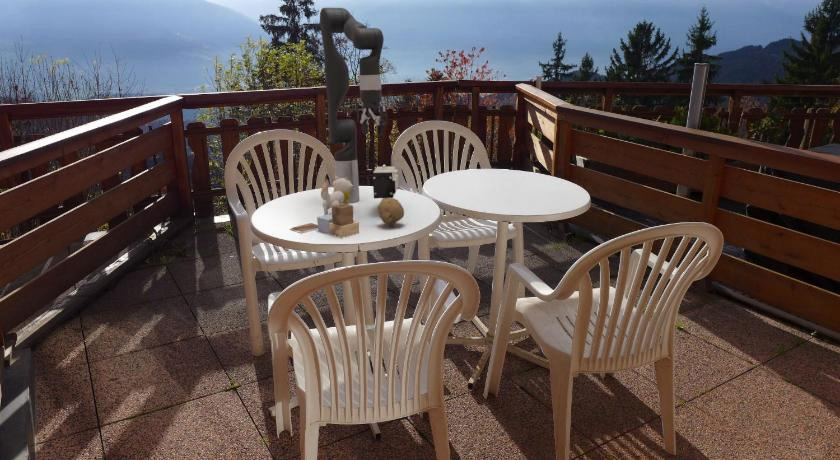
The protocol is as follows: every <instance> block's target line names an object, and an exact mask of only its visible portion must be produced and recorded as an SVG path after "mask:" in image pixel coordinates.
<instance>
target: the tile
mask: <svg viewBox="0 0 840 460" xmlns="http://www.w3.org/2000/svg"><path fill="white" fill-rule="evenodd" d="M289 230H290V231H292V232H296V233H299V234H304V233H308V232H311V231H315V230H318V224H317V223H316V224H315V223H312V222H310V223H306V224H301V225H298V226H292V227H290V228H289Z"/></svg>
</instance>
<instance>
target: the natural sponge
mask: <svg viewBox="0 0 840 460" xmlns="http://www.w3.org/2000/svg"><path fill="white" fill-rule="evenodd" d="M381 200H382V199H381ZM397 200H398V199H396V198H394V197H393V198H387V199H384V200H382V201H380V202H379V203H378V205H377V211H378V215H379V219H381V221H382V223H383V224H385V225H386V226H387V227H392V226H394V225H395V224H396V223H397V222H399V221H400V220H402V218H404V216H405V210H404V207H403V206H402V203H401V202H400V201H399V200H398V201H397Z"/></svg>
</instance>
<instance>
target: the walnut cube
mask: <svg viewBox="0 0 840 460" xmlns="http://www.w3.org/2000/svg"><path fill="white" fill-rule="evenodd" d="M353 206H354V205H351V204H349V203H347V204H345V203H342V204H338V205H334V206H331V207H332V208H331V215H332V222H333V224H336V225H340V226H344V225H348V224H352V223H354V207H353Z"/></svg>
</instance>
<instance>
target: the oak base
mask: <svg viewBox="0 0 840 460" xmlns="http://www.w3.org/2000/svg"><path fill="white" fill-rule="evenodd" d="M359 223H360V222H359V221H354V223H352V224H348V225H344V226H340V225H336V224H333V223H329V231H330V234H329V235H331V234H332V235H331V236H334V235H336V236H335V237H338V236H340V237H339V238H342V237H345V238H348V237H351V236H354V235H357V234H360V224H359ZM356 233H357V234H356ZM353 234H354V235H353ZM350 235H351V236H350ZM347 236H348V237H347Z"/></svg>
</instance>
